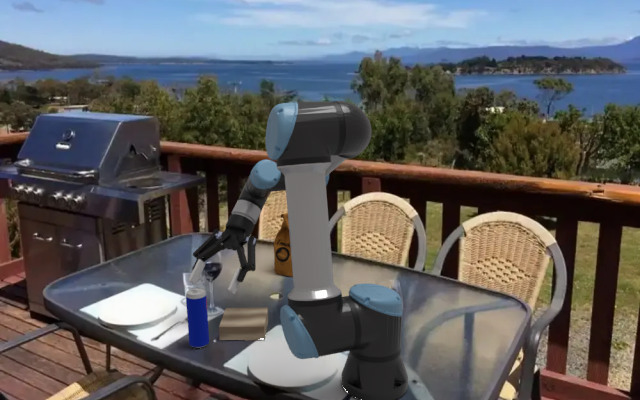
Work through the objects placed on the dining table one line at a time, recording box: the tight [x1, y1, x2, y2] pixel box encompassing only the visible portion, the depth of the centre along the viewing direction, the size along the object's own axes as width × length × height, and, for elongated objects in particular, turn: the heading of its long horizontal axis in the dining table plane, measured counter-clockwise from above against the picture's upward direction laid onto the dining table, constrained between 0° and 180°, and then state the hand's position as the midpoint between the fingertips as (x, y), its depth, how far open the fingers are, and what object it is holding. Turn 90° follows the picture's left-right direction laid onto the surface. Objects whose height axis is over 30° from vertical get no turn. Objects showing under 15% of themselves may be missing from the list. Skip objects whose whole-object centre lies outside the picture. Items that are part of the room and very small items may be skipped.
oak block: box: [218, 307, 269, 341], centre depth 157 cm, size 12×12×4 cm
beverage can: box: [185, 287, 210, 348], centre depth 148 cm, size 5×5×15 cm
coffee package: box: [273, 212, 293, 278], centre depth 200 cm, size 10×12×22 cm
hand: (211, 287), depth 153 cm, fingers open, 13 cm apart
